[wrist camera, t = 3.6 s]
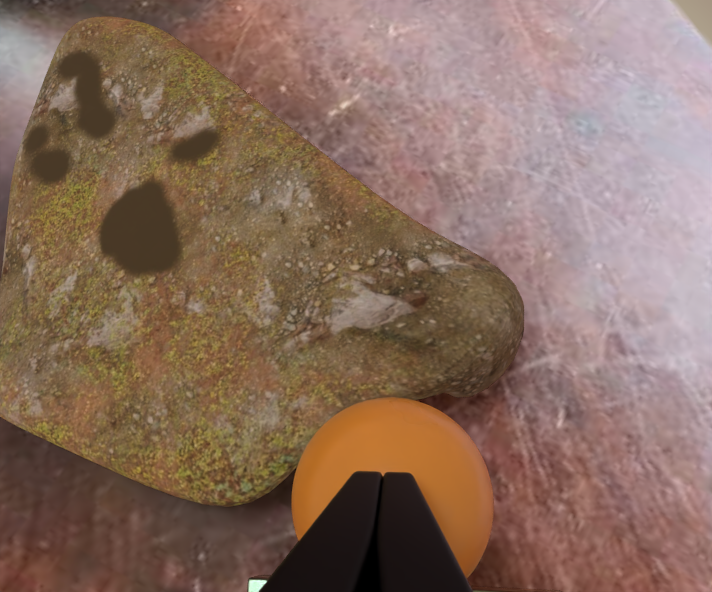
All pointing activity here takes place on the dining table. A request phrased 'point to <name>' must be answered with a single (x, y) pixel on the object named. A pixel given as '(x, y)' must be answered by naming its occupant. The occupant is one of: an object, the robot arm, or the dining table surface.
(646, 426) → the dining table surface
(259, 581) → the switch bracket
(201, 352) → the decorative stone
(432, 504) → the switch lever
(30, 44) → the dining table surface
